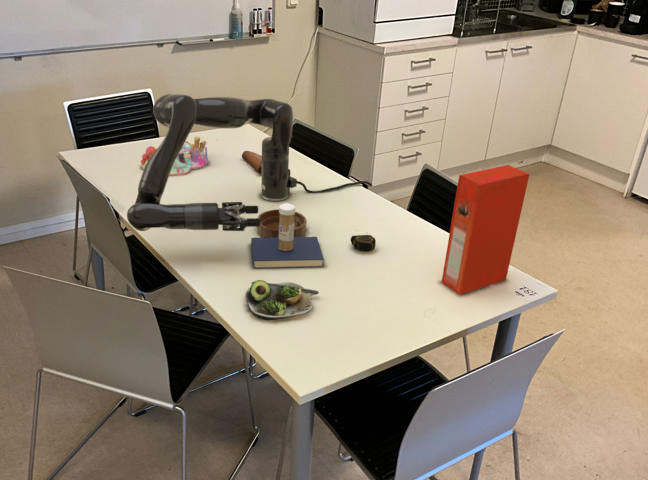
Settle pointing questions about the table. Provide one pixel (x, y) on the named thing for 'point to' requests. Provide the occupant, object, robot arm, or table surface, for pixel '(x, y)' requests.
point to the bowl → (271, 224)
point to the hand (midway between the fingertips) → (259, 215)
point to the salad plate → (278, 300)
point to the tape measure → (363, 242)
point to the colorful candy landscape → (183, 157)
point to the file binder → (483, 227)
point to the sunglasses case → (253, 160)
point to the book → (286, 253)
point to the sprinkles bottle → (286, 227)
